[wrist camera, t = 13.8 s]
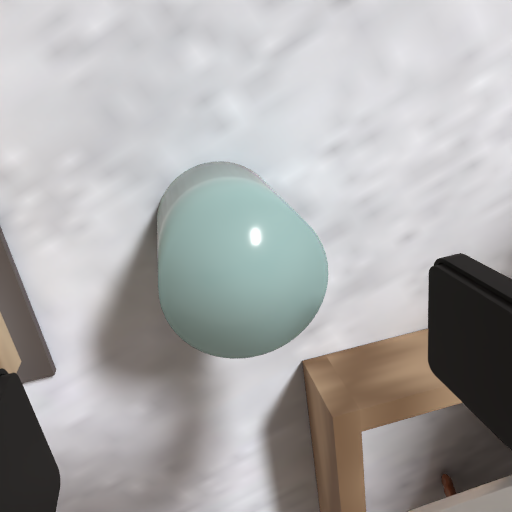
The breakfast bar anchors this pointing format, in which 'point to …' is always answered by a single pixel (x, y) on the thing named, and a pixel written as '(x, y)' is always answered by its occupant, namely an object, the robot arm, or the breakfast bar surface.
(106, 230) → the breakfast bar surface
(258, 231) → the teal capsule
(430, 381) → the mug tray
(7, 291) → the plinth
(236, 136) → the breakfast bar surface
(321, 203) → the breakfast bar surface
